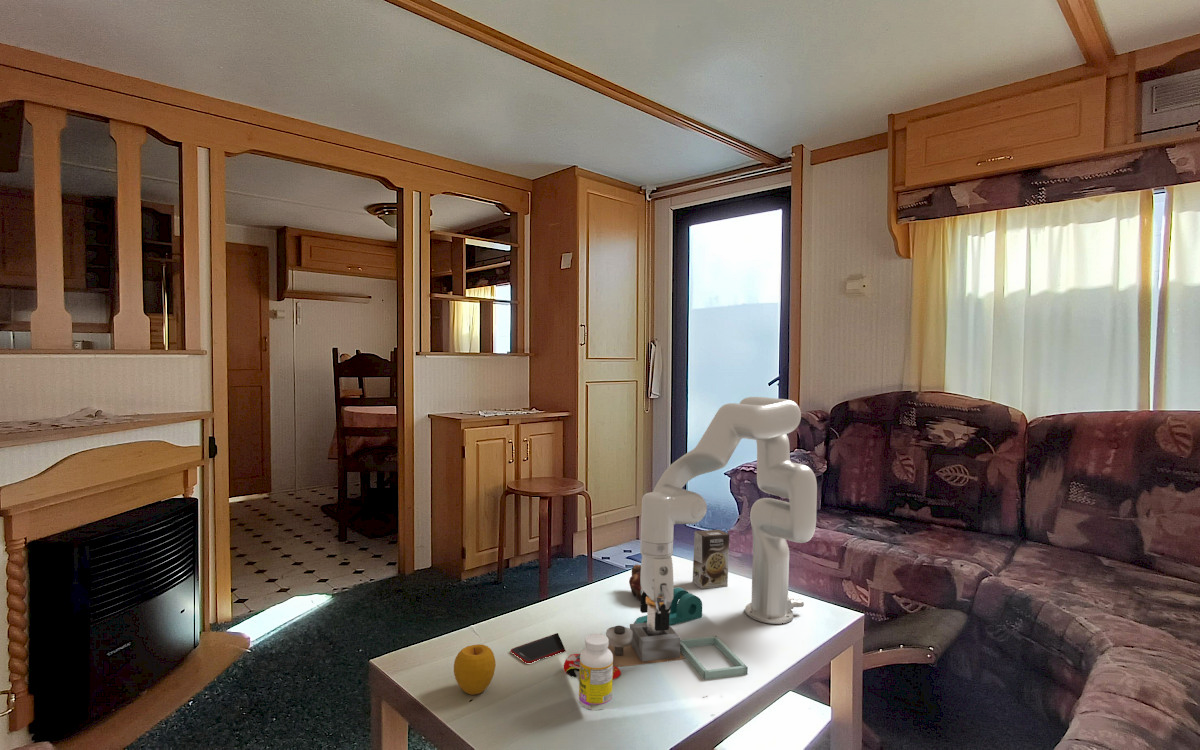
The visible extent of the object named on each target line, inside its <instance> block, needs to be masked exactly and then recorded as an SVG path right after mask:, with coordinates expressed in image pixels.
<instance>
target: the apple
mask: <svg viewBox="0 0 1200 750" xmlns="http://www.w3.org/2000/svg"><path fill="white" fill-rule="evenodd" d="M496 664H497V661H496V659H495V654H494V651H493V650H492V649H491V648H490V647H489V646H487V645H484V644H481V643H480V644H479V643H478V644H472V645H468V646H465V647H463V648H462V649H461V650H460V651H459V652H458V653H457V655H456V656H455V658H454V663H453V674H454V678H455V681H456V683H457V685H458V687H459V688H461V690H462V691H463V692H464V693H466V694H468V695H471V696H472V695H473V696H474V695H479V694H481V693H483V692H484V691H486V689H487V688H488V687H489V685H490V684H491V682H492V680H493V677H494V675H495V670H496Z"/></svg>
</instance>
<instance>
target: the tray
mask: <svg viewBox="0 0 1200 750" xmlns="http://www.w3.org/2000/svg"><path fill="white" fill-rule="evenodd" d="M711 645H715V646H716V647H717V648H718V649H719V651H720V652H722V653H723V654H724V655H725V657H726V658H728V660H729V661H730V662H731V663H732V664H733V665H734V666H730V667H722V668H713V669H712V668H711V669H707V668H706V667H705V666H704V665H703V664H702V663H701V661H699V659H698V658H697V657H696V656H695V655H694V653H693V652H692V651H691V650H690V648H691V647H701V646H711ZM680 653H681V654H682V655H683V656H684V657H685V659H687V660H688V661H689V663H691V664H690V665H692V666H693V667H694V669H695V670H696V671H697V672H698V673H699V674H700V676H701V677H702V678H703V680H713V679H721V678H727V677H738V676H743V675H745V676H746V675H748V671H749V670H748V669H749V668H748V666H747V664H746V663H744V662H743V660H741V659H740V658H739V656H737V655H736V654H735V653H734V652H733V650H731V649H730V648H729V647H728V646H727V645H726V644H725V643H724V642H723V641H722V640H721V639H720V638H719V637H718V636H717V635H712V636H704V637H703V636H702V637H693V638H684V639H683V638H682V639H680Z"/></svg>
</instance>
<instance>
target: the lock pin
mask: <svg viewBox="0 0 1200 750" xmlns="http://www.w3.org/2000/svg"><path fill="white" fill-rule="evenodd" d="M658 598H663V597H658ZM646 604H647V605H648V610H647V614H646V615H647V635H648V636H656V635H662V630H661V631H656V630H655V612H657V609H656V604H655V602H654V601H653V600H652V599H650V597H649V596H648V595H647V596H646ZM659 604H660V607H661V605H662V604H664V602H659Z"/></svg>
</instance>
